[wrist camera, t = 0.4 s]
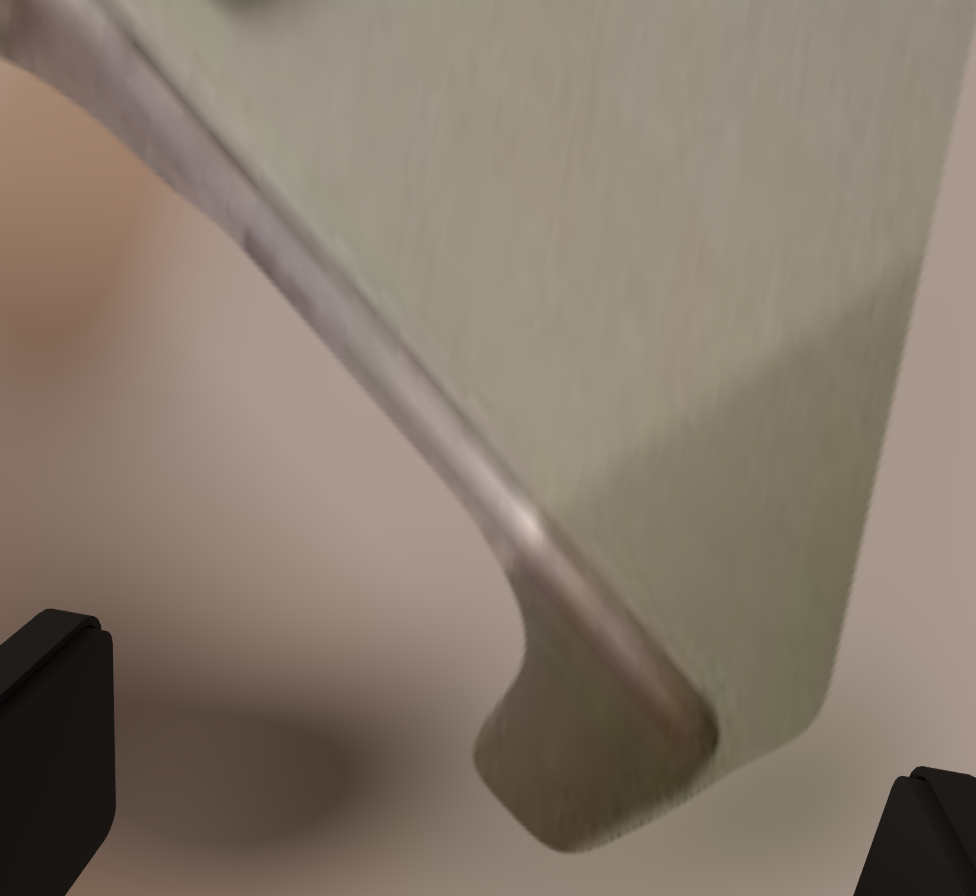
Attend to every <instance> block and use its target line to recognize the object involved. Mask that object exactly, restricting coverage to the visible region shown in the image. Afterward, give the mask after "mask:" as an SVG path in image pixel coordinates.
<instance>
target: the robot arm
mask: <svg viewBox="0 0 976 896" xmlns="http://www.w3.org/2000/svg"><path fill="white" fill-rule="evenodd" d="M113 688H114V687H113V642H112V637H111V635H110V633H109V632H107V631H104V630H101V624H100V622H99V620H98V619H97V618H96V617H94V616H90V615H84V614H78V613H73V612H68V611H62V610H56V609H45V610H44V611H42V612H41V613H39V614H38V615H36V616H35V617H34V618H33V619H32V620H30V621H29V622H28V623H27V624H26V625H24V626H23V627H22V628H21V629H19V630H18V631H17V632H16V633H15V634H13V635H12V636H11V637H10V638H9V639H7V640H6V641H5V642H4V643H3V644H1V645H0V896H65V895H66V893H67V892H68V890H69V889H70V888H71V886H72V885H73V884H74V882H75V881H76V879H77V878H78V877H79V875H80V874H81V872H82V871H83V869H84V868H85V867H86V865H87V864H88V862H89V861H90V860H91V858H92V857H93V855H94V854H95V853H96V851H97V850H98V848H99V847H100V846H101V844H102V843H103V841H104V840H105V838H106V837H107V835H108V833H109V830H110V828H111V825H112V823H113V820H114V815H115V809H116V808H115V807H116V789H115V741H114V740H115V738H114V690H113ZM853 896H976V778H975V777H973V776H971V775H968V774H963V773H957V772H952V771H946V770H940V769H935V768H929V767H924V766H920V767H916V768H915V769H914V770H913V771H912V772H911V774H910V776H909V777H905V776H900V777H898V778H897V779H896V780H895V782H894V784H893V786H892V788H891V791H890V794H889V797H888V800H887V803H886V805H885V808H884V811H883V814H882V817H881V820H880V822H879V825H878V828H877V831H876V834H875V836H874V839H873V842H872V845H871V847H870V850H869V853H868V856H867V859H866V862H865V864H864V867H863V870H862V873H861V875H860V878H859V881H858V884H857V887H856V890H855V892H854V895H853Z"/></svg>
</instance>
